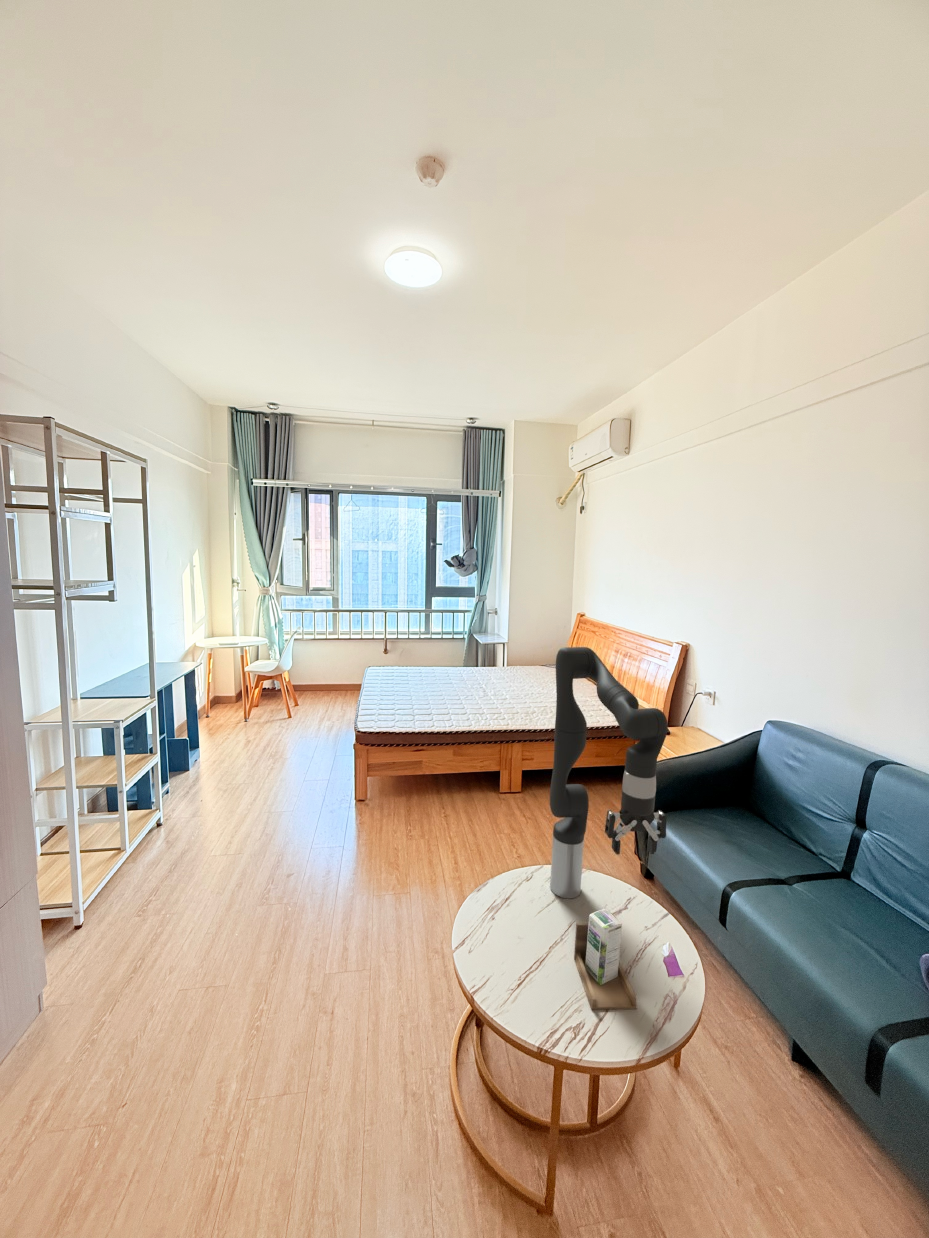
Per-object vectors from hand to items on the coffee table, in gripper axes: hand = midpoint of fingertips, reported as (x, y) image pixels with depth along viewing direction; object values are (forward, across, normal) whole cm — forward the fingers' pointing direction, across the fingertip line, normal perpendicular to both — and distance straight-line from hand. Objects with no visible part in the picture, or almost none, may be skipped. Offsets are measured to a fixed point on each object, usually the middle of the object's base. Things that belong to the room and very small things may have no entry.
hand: (633, 852), depth 119 cm
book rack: (+30, +7, +6) cm, 31 cm away
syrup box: (+30, +7, +3) cm, 31 cm away
